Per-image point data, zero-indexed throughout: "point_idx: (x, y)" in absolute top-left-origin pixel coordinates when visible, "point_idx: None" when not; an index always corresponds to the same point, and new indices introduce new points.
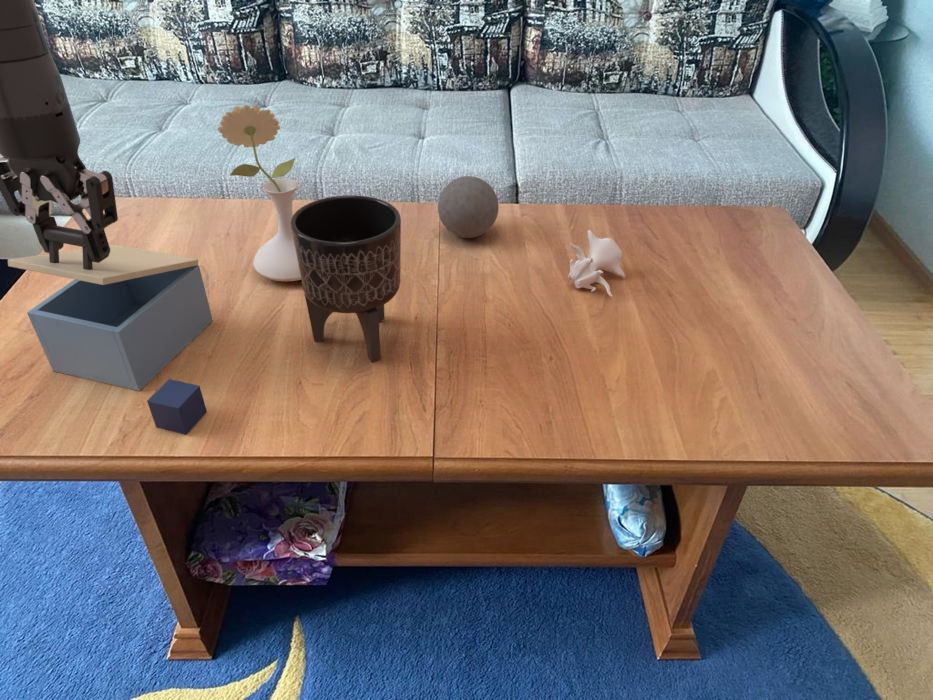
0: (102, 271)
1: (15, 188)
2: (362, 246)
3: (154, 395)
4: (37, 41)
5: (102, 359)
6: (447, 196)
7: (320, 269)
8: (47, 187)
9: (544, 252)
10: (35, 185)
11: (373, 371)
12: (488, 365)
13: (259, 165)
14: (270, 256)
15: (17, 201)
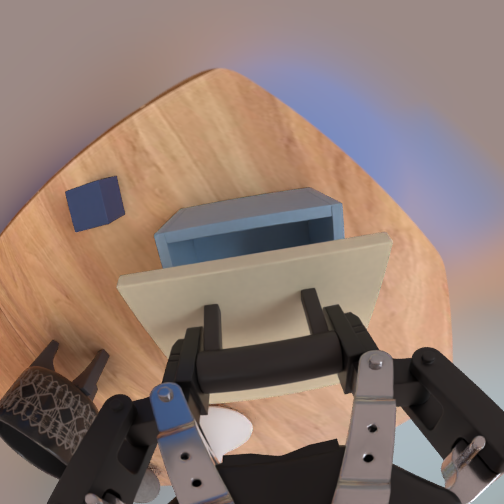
0: (176, 314)
1: (445, 421)
2: None
3: (98, 191)
4: None
5: (215, 209)
6: (139, 490)
7: (16, 396)
8: None
9: None
10: (333, 495)
11: (45, 330)
12: (15, 357)
13: None
14: (215, 427)
15: (428, 389)
